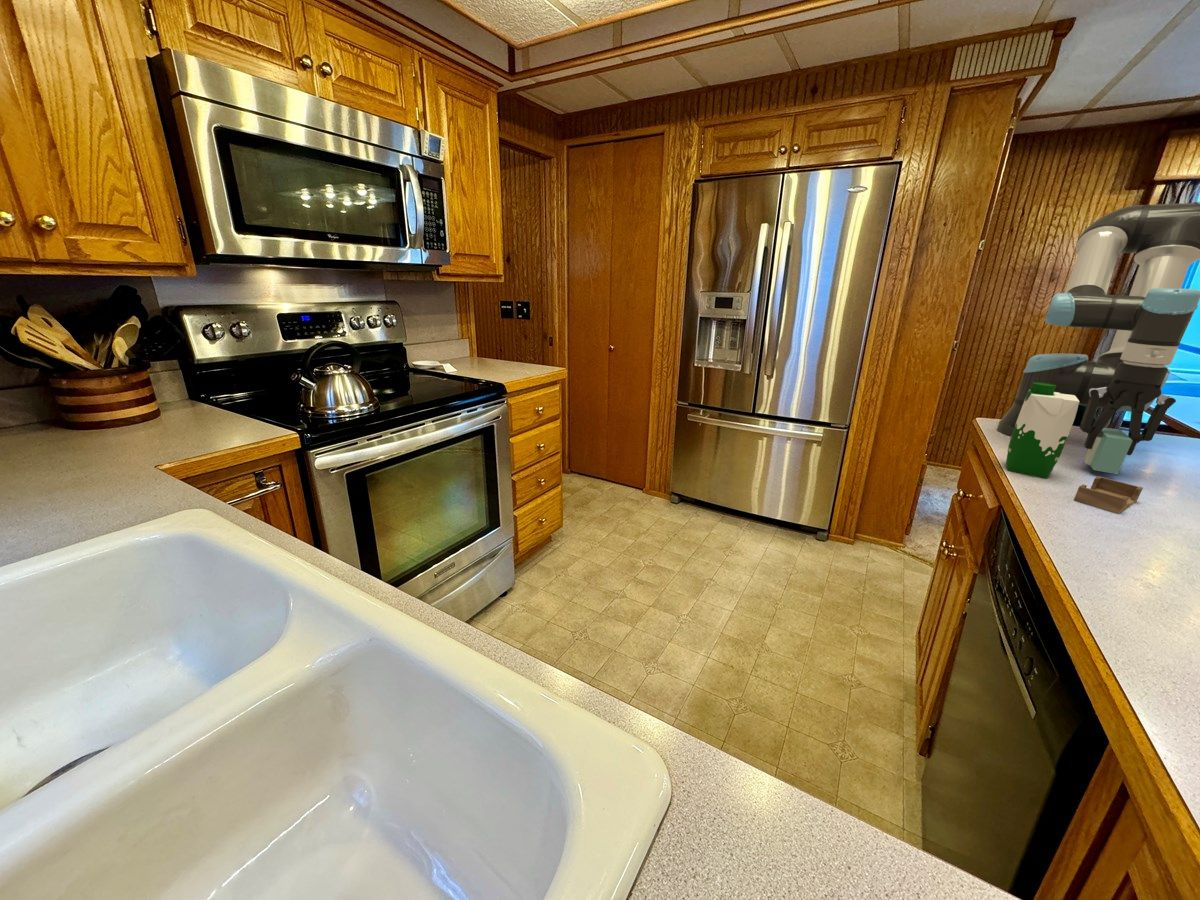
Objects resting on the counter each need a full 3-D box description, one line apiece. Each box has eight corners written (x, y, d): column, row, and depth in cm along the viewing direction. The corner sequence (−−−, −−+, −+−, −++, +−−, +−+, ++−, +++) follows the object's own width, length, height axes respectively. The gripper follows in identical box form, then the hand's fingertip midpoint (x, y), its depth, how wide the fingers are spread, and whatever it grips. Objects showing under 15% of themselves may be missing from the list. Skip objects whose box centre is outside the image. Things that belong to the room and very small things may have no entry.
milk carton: (1001, 460, 117) (1029, 379, 110) (1050, 469, 112) (1082, 385, 105) (1002, 470, 111) (1031, 385, 104) (1054, 481, 106) (1089, 392, 99)
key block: (1084, 458, 116) (1097, 426, 113) (1106, 461, 114) (1120, 429, 111) (1093, 469, 109) (1107, 436, 106) (1117, 474, 107) (1132, 440, 104)
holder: (1093, 488, 102) (1098, 476, 101) (1136, 501, 97) (1143, 487, 96) (1073, 500, 96) (1079, 486, 95) (1118, 513, 91) (1125, 499, 90)
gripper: (1094, 361, 104) (1055, 461, 113) (1210, 371, 96) (1159, 478, 104) (1085, 357, 110) (1049, 451, 119) (1194, 366, 102) (1147, 467, 110)
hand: (1101, 464), depth 111 cm, fingers closed on key block, 4 cm apart
